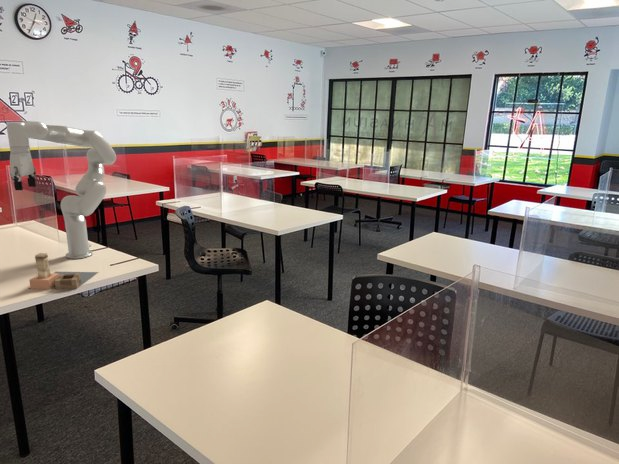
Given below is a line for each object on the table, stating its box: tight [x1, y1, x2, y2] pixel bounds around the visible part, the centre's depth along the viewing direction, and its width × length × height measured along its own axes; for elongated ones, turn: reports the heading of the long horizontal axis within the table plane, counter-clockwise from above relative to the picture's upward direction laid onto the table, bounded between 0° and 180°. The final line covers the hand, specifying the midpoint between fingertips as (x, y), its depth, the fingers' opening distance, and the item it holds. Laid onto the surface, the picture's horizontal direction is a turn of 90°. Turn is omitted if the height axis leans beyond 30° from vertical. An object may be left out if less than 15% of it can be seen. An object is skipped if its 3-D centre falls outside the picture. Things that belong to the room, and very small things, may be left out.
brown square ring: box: [55, 273, 81, 291], centre depth 191 cm, size 8×8×4 cm
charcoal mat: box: [28, 271, 100, 291], centre depth 198 cm, size 21×20×1 cm
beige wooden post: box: [34, 252, 51, 279], centre depth 190 cm, size 3×3×14 cm
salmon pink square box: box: [28, 272, 59, 290], centre depth 191 cm, size 8×8×4 cm
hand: (25, 188), depth 204 cm, fingers open, 9 cm apart
